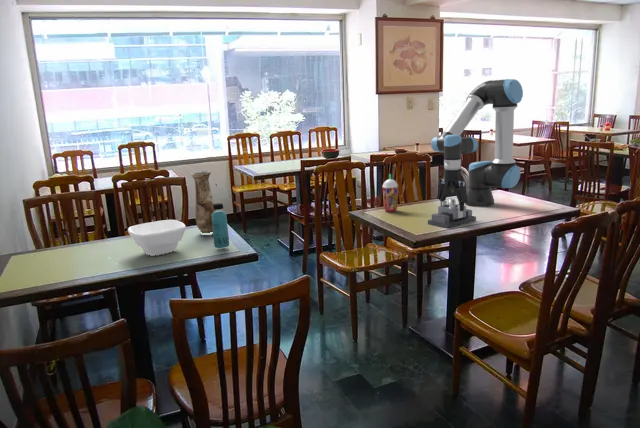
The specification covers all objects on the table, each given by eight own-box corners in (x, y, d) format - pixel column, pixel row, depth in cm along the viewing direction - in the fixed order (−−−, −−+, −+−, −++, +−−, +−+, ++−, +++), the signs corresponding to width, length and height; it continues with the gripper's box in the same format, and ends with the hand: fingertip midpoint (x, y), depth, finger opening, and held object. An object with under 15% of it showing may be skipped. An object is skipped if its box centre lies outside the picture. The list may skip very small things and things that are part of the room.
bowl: (126, 252, 213) (122, 227, 211) (176, 242, 226) (173, 217, 223) (141, 265, 196) (137, 236, 193) (194, 253, 208) (191, 226, 205)
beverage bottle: (217, 247, 214) (212, 202, 210) (232, 247, 213) (227, 201, 209) (212, 251, 208) (207, 205, 203) (227, 251, 207) (223, 205, 203)
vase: (223, 232, 238) (217, 171, 231) (204, 237, 231) (197, 174, 224) (211, 229, 245) (205, 169, 239) (192, 234, 238) (185, 172, 231)
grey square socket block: (450, 213, 239) (451, 203, 238) (465, 216, 232) (466, 206, 231) (438, 216, 234) (438, 206, 233) (453, 219, 227) (453, 209, 226)
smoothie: (395, 213, 258) (394, 175, 254) (380, 212, 262) (379, 175, 258) (400, 209, 265) (400, 173, 261) (386, 209, 269) (385, 172, 265)
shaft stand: (456, 216, 244) (456, 194, 242) (476, 220, 234) (476, 198, 232) (427, 224, 233) (427, 201, 231) (447, 228, 224) (447, 204, 221)
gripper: (429, 167, 235) (429, 213, 240) (466, 171, 217) (465, 221, 222) (439, 165, 239) (439, 211, 244) (477, 169, 221) (476, 218, 226)
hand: (451, 215), depth 233 cm, fingers closed on grey square socket block, 9 cm apart
